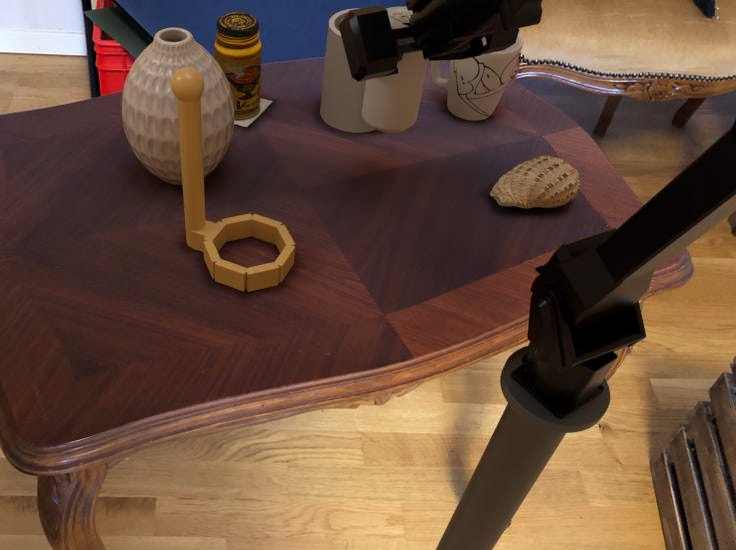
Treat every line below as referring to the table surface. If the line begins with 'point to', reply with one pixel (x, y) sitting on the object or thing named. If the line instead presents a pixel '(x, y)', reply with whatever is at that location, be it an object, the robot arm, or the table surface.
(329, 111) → the cup
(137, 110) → the vase
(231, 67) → the condiment
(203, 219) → the holder
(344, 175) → the table surface
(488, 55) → the mug
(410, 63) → the beverage can
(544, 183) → the seashell
